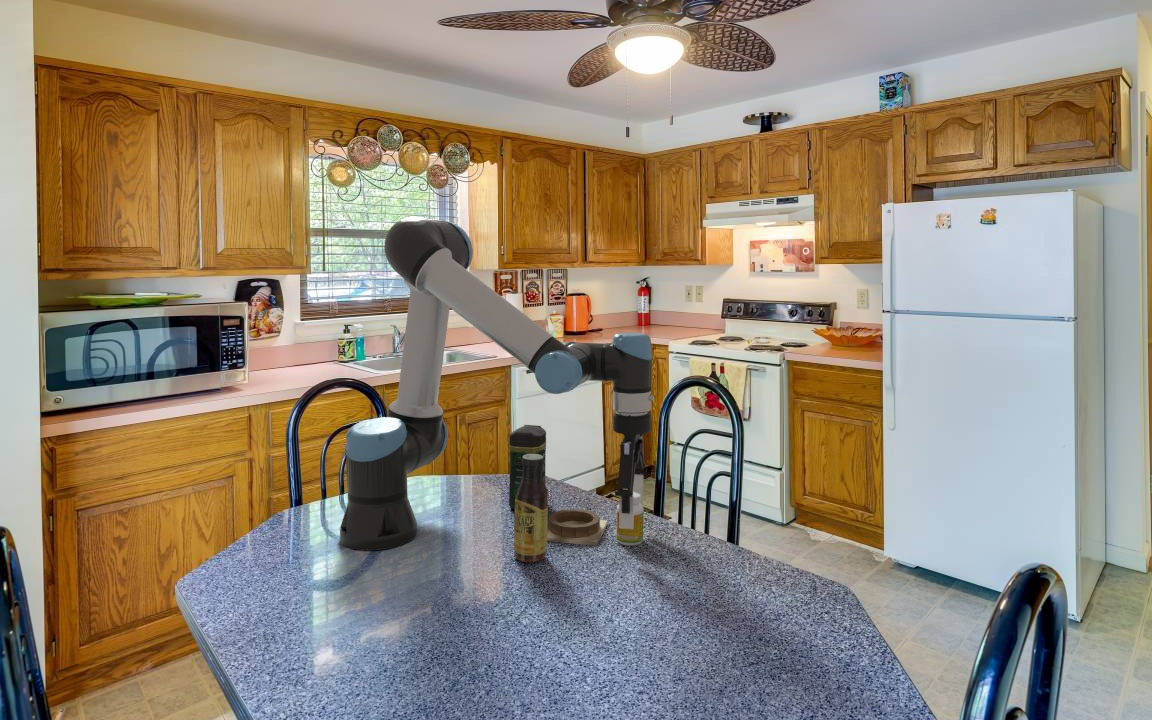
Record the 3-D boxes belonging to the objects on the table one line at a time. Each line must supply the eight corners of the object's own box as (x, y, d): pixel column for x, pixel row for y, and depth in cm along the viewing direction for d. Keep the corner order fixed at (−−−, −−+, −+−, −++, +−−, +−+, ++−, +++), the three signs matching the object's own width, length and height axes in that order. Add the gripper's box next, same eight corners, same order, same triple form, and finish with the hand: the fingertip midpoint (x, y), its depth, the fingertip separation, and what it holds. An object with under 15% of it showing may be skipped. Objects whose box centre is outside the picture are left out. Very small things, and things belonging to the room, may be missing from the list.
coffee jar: (539, 514, 153) (539, 432, 151) (505, 511, 155) (504, 430, 152) (549, 500, 163) (549, 423, 160) (517, 497, 164) (517, 421, 162)
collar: (538, 539, 139) (538, 525, 138) (553, 519, 150) (553, 505, 150) (596, 545, 136) (596, 531, 136) (607, 524, 148) (607, 510, 147)
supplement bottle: (644, 546, 136) (645, 499, 134) (616, 546, 136) (617, 499, 135) (642, 536, 141) (642, 490, 140) (615, 535, 141) (616, 490, 140)
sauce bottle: (507, 557, 130) (506, 455, 128) (531, 548, 135) (530, 449, 132) (530, 567, 126) (530, 462, 123) (554, 557, 130) (555, 455, 128)
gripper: (642, 426, 122) (642, 540, 125) (658, 400, 146) (657, 497, 149) (601, 424, 124) (601, 537, 127) (623, 399, 148) (623, 494, 151)
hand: (631, 516), depth 138 cm, fingers open, 13 cm apart
